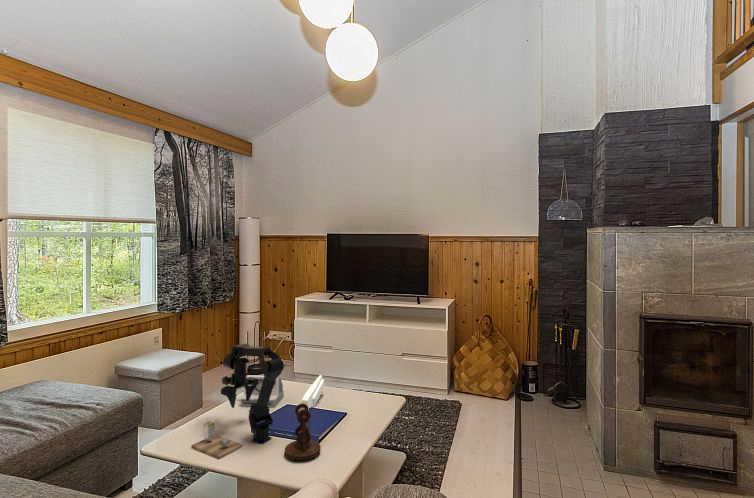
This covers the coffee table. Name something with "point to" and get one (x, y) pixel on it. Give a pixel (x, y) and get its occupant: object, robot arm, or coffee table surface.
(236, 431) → the coffee table surface
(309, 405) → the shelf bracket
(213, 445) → the hole plate
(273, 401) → the instant camera
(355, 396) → the coffee table surface
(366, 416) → the coffee table surface
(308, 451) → the brown wooden tall piece
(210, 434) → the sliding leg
